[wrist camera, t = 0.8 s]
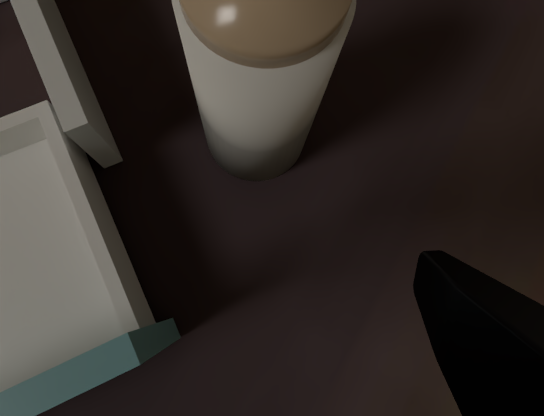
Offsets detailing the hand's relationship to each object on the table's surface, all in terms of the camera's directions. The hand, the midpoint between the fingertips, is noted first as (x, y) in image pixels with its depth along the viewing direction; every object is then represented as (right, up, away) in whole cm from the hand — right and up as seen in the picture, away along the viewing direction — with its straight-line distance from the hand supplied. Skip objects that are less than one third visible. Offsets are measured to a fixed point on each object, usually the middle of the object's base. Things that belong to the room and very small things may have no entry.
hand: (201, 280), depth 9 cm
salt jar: (+1, +5, +14) cm, 15 cm away
